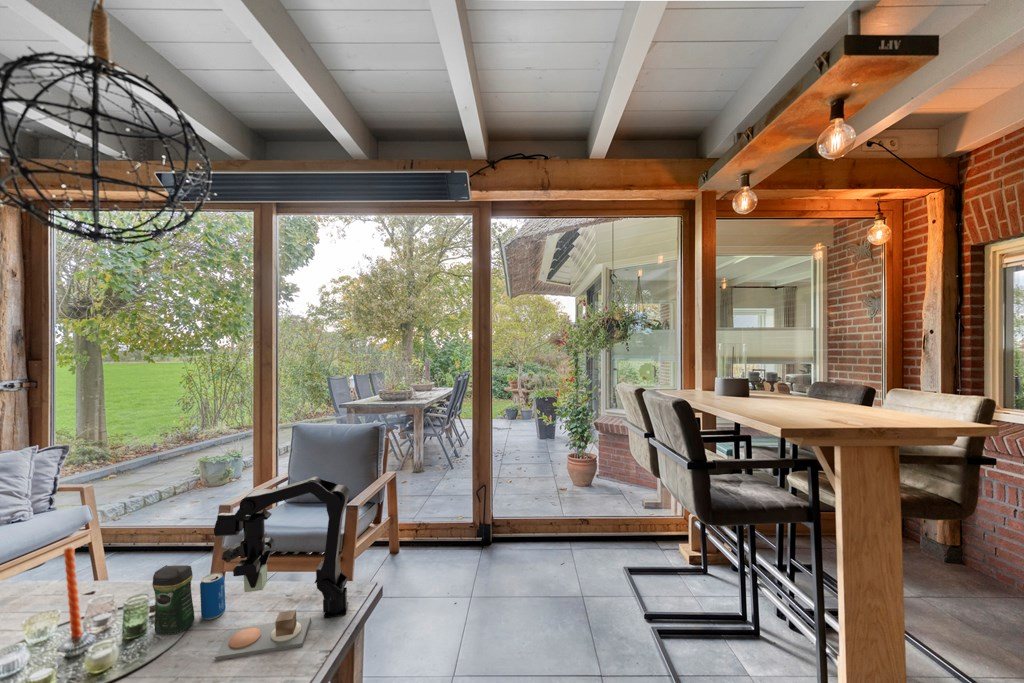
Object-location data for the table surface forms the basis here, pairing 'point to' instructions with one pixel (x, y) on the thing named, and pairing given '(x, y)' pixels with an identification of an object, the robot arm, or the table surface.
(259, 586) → the sage block
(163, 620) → the coffee jar
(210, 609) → the beverage can
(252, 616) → the table surface
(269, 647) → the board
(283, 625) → the walnut block
